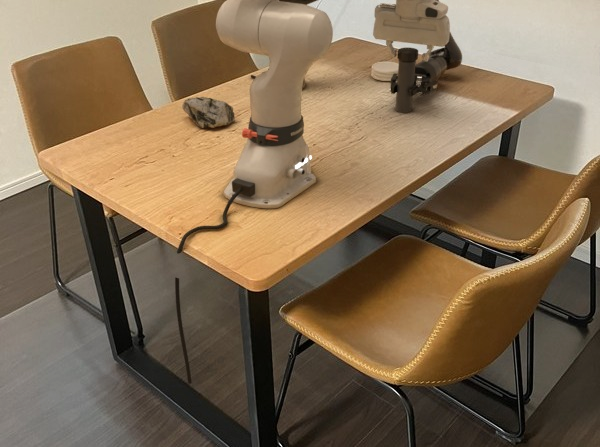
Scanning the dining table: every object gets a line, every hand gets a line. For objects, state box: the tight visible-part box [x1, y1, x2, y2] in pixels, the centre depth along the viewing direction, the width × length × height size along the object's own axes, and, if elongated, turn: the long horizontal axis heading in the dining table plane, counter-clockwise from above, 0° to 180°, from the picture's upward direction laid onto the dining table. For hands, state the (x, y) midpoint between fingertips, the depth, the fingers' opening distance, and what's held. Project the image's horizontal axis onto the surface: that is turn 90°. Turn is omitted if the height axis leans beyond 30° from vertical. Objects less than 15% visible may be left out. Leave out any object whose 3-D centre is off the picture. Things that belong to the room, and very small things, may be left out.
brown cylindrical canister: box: [395, 59, 417, 114], centre depth 172 cm, size 4×4×16 cm
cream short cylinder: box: [370, 61, 399, 82], centre depth 199 cm, size 10×10×4 cm
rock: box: [181, 96, 236, 129], centre depth 170 cm, size 15×10×7 cm
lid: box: [396, 47, 419, 62], centre depth 168 cm, size 6×6×2 cm
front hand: (408, 58), depth 168 cm, fingers open, 8 cm apart
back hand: (401, 92), depth 171 cm, fingers closed on brown cylindrical canister, 4 cm apart
